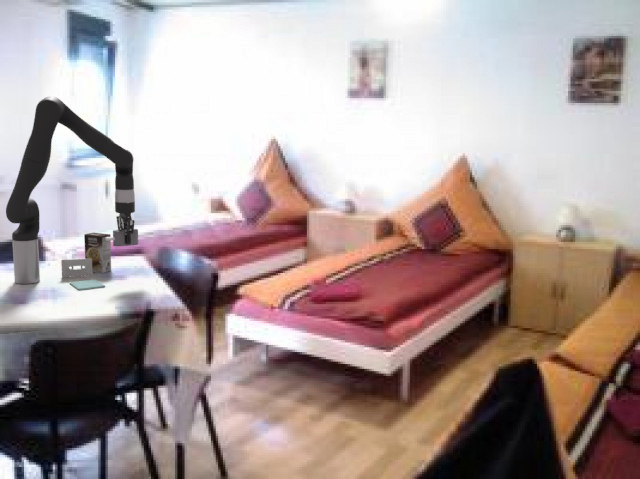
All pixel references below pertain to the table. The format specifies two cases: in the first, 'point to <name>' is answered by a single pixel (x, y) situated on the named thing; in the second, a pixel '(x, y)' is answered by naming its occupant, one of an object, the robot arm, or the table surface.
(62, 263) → the cassette
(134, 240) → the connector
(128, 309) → the table surface
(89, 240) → the coffee box
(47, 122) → the robot arm
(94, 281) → the teal rubber mat
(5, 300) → the table surface
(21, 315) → the table surface
